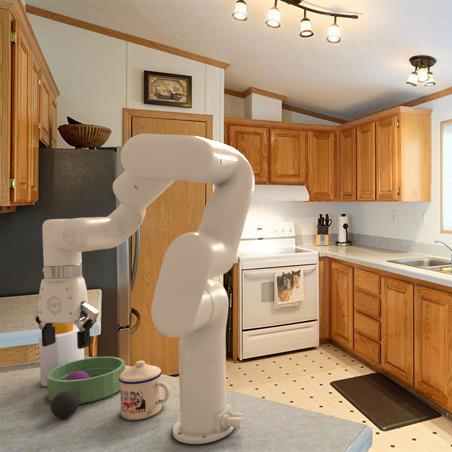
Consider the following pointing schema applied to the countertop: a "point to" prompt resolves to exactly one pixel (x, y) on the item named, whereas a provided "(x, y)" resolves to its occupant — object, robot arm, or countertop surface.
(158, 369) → the teacup with lid
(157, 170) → the robot arm
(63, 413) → the charcoal ball
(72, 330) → the soap bottle
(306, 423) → the countertop surface
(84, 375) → the purple ball
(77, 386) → the green bowl
